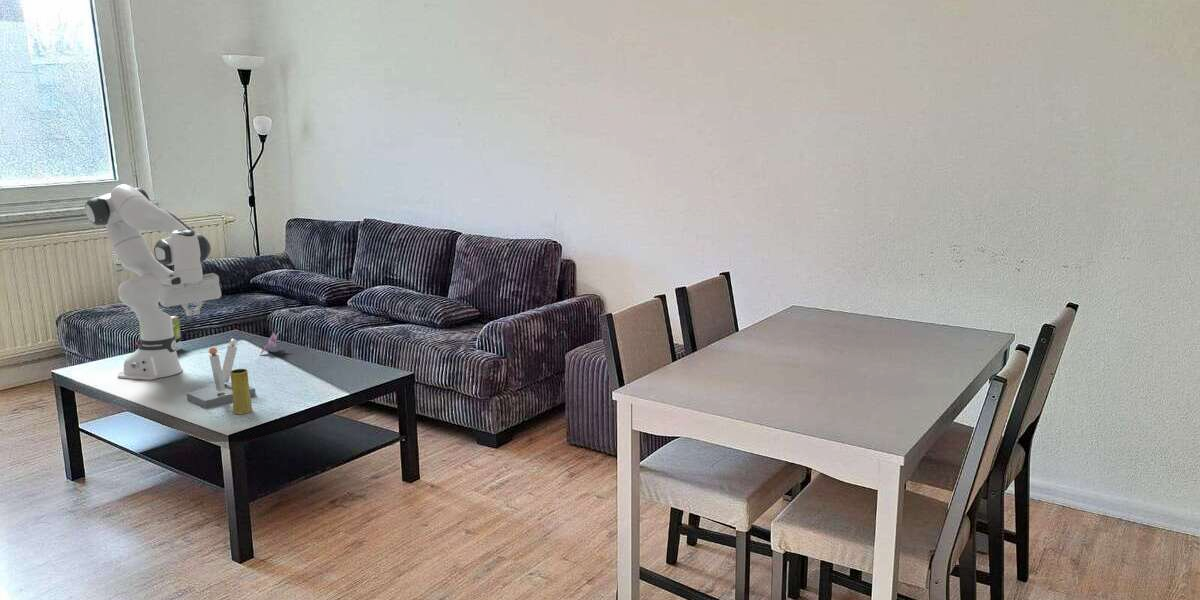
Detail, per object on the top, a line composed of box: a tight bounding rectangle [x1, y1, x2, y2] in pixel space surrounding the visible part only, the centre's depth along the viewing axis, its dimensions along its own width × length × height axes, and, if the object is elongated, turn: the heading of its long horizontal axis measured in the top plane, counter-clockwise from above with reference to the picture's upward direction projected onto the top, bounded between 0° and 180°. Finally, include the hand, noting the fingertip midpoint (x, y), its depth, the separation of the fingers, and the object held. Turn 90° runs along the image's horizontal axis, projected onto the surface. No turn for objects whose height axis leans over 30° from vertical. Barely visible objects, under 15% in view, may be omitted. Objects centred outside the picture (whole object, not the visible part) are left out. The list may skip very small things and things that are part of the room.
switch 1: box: [208, 347, 225, 392], centre depth 298 cm, size 3×4×16 cm
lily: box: [259, 331, 283, 356], centre depth 362 cm, size 12×12×10 cm
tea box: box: [138, 315, 183, 352], centre depth 363 cm, size 15×10×15 cm
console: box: [186, 381, 257, 409], centre depth 305 cm, size 18×14×3 cm
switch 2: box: [221, 338, 238, 384], centre depth 311 cm, size 3×4×16 cm
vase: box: [230, 368, 253, 415], centre depth 289 cm, size 6×6×14 cm
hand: (193, 314), depth 304 cm, fingers closed
